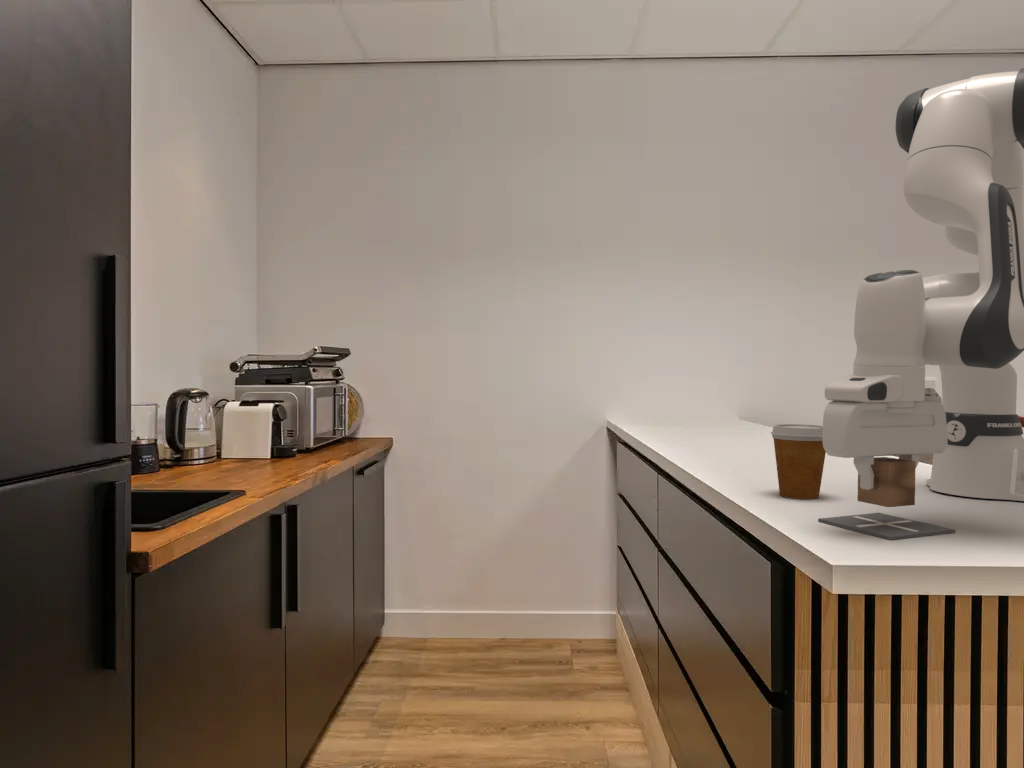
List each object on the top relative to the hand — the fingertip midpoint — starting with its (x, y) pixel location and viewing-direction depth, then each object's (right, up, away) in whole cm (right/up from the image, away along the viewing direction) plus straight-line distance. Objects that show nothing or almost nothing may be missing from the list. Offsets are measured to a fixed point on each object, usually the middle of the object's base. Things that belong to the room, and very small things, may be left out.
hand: (886, 487), depth 101 cm
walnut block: (0, -2, 0) cm, 2 cm away
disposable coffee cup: (-2, -5, +24) cm, 25 cm away
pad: (0, -5, 0) cm, 6 cm away
